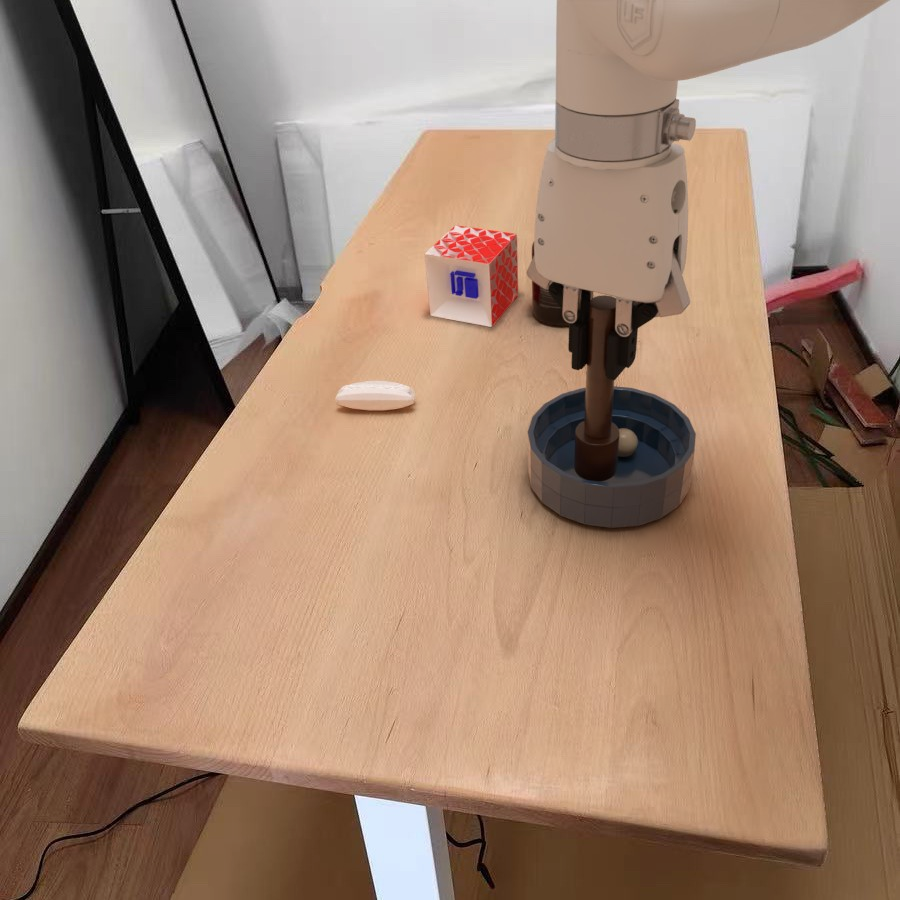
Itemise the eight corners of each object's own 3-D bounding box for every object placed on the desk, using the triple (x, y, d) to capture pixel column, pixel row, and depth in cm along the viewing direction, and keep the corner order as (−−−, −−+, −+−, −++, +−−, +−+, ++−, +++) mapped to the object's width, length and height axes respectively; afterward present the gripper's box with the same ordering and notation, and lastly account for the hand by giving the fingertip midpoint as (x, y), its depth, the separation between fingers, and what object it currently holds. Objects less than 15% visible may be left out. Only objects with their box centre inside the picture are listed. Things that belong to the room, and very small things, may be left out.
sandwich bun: (414, 415, 86) (411, 392, 84) (335, 415, 87) (331, 392, 85) (418, 397, 88) (415, 374, 87) (341, 397, 89) (337, 374, 88)
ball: (641, 450, 79) (643, 427, 77) (629, 466, 77) (631, 443, 75) (615, 441, 80) (616, 419, 78) (603, 457, 78) (604, 434, 77)
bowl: (712, 456, 78) (719, 412, 75) (650, 553, 69) (655, 507, 66) (572, 413, 84) (573, 371, 81) (500, 497, 76) (498, 453, 72)
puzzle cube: (518, 295, 104) (517, 233, 99) (492, 327, 98) (489, 263, 93) (458, 285, 107) (454, 225, 102) (429, 315, 101) (423, 253, 96)
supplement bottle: (603, 315, 99) (608, 215, 91) (555, 334, 96) (556, 233, 89) (567, 292, 103) (569, 196, 96) (520, 310, 101) (518, 212, 94)
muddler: (623, 462, 74) (637, 296, 64) (605, 487, 72) (616, 319, 62) (585, 450, 76) (592, 286, 66) (566, 473, 73) (571, 307, 63)
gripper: (756, 124, 54) (718, 368, 66) (532, 96, 62) (533, 320, 73) (714, 165, 50) (681, 421, 61) (477, 129, 57) (488, 363, 68)
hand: (601, 364), depth 67 cm, fingers closed on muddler, 2 cm apart
